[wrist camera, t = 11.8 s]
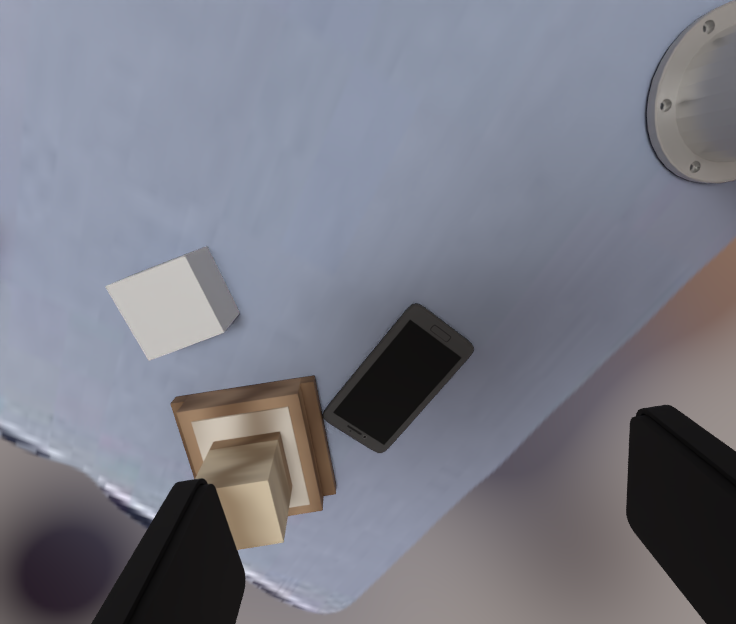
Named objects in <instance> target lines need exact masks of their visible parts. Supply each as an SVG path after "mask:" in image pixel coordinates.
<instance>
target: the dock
mask: <svg viewBox="0 0 736 624" xmlns="http://www.w3.org/2000/svg"><path fill="white" fill-rule="evenodd" d="M171 407H172V410H173V413H174V416H175V420H176V423H177V426H178V429H179V432H180V435H181V438H182V441H183V444H184V448H185V451H186V454H187V457H188V460H189V463H190V466H191V469H192V472H193V476H194V479H195V478H196V476H197V474H198V472H199V470H200V468H201V466H202V464H203V462H204V460H205V458H206V456H207V454H208V452H209V450H210V448H211V446H212V444H213V442H214V441H221V440H227V439H234V438H240V437H246V436H253V435H259V434H266V433H272V432H279V431H280V434H281V438H282V442H283V447H284V451H285V455H286V460H287V464H288V468H289V473H290V477H291V481H292V492H291V499H290V505H289V511H288V516H291V515H297V514H303V513H309V512H316V511H322V510H323V496H327V495H333V494H336V483H335V477H334V472H333V467H332V462H331V457H330V452H329V447H328V442H327V437H326V432H325V427H324V421H323V416H322V411H321V406H320V401H319V396H318V391H317V386H316V381H315V376H308V377H301V378H295V379H288V380H282V381H275V382H269V383H262V384H256V385H249V386H243V387H236V388H230V389H223V390H217V391H211V392H204V393H198V394H191V395H185V396H178V397H175V399H174V400H173V401H172V402H171Z"/></svg>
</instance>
